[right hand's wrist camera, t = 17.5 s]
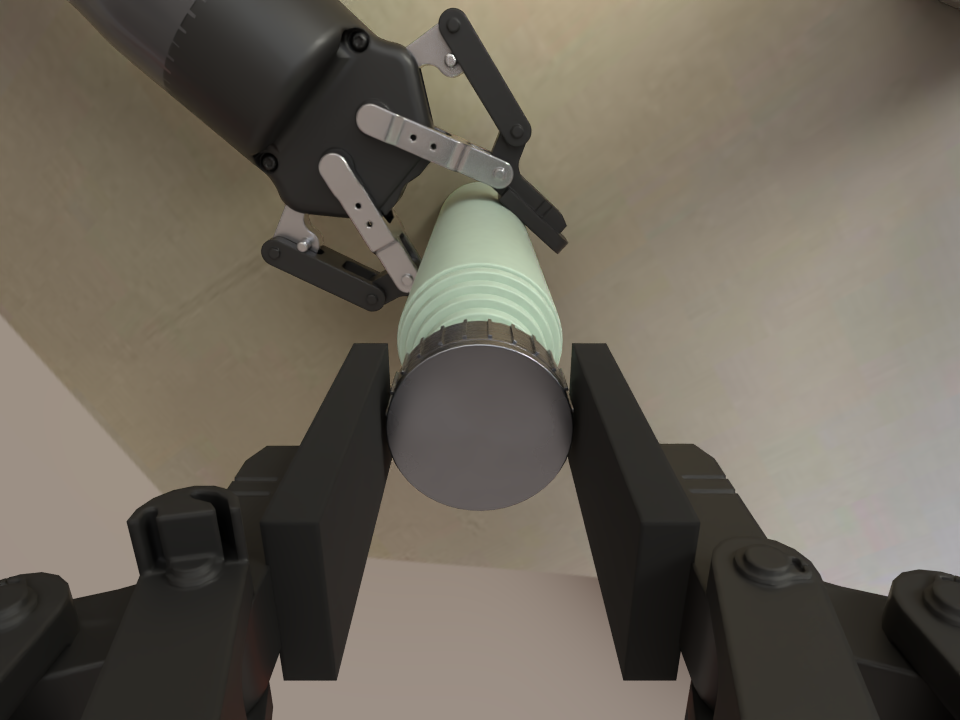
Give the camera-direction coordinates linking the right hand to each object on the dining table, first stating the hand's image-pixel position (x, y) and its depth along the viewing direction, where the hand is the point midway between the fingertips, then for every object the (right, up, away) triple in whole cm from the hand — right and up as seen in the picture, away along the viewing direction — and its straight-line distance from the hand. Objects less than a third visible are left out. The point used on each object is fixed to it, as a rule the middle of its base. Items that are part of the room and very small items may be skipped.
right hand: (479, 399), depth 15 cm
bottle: (0, +9, +21) cm, 23 cm away
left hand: (+2, +5, +16) cm, 17 cm away
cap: (0, 0, -1) cm, 1 cm away
